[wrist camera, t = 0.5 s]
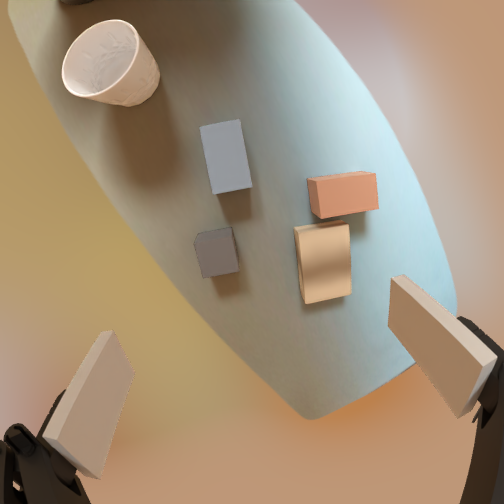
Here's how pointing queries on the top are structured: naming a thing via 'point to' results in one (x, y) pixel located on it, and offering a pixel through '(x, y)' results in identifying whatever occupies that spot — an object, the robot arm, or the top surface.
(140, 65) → the white cup
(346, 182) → the terracotta block
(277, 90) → the top surface
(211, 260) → the charcoal block
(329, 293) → the maple block
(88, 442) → the robot arm
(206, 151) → the blue block
